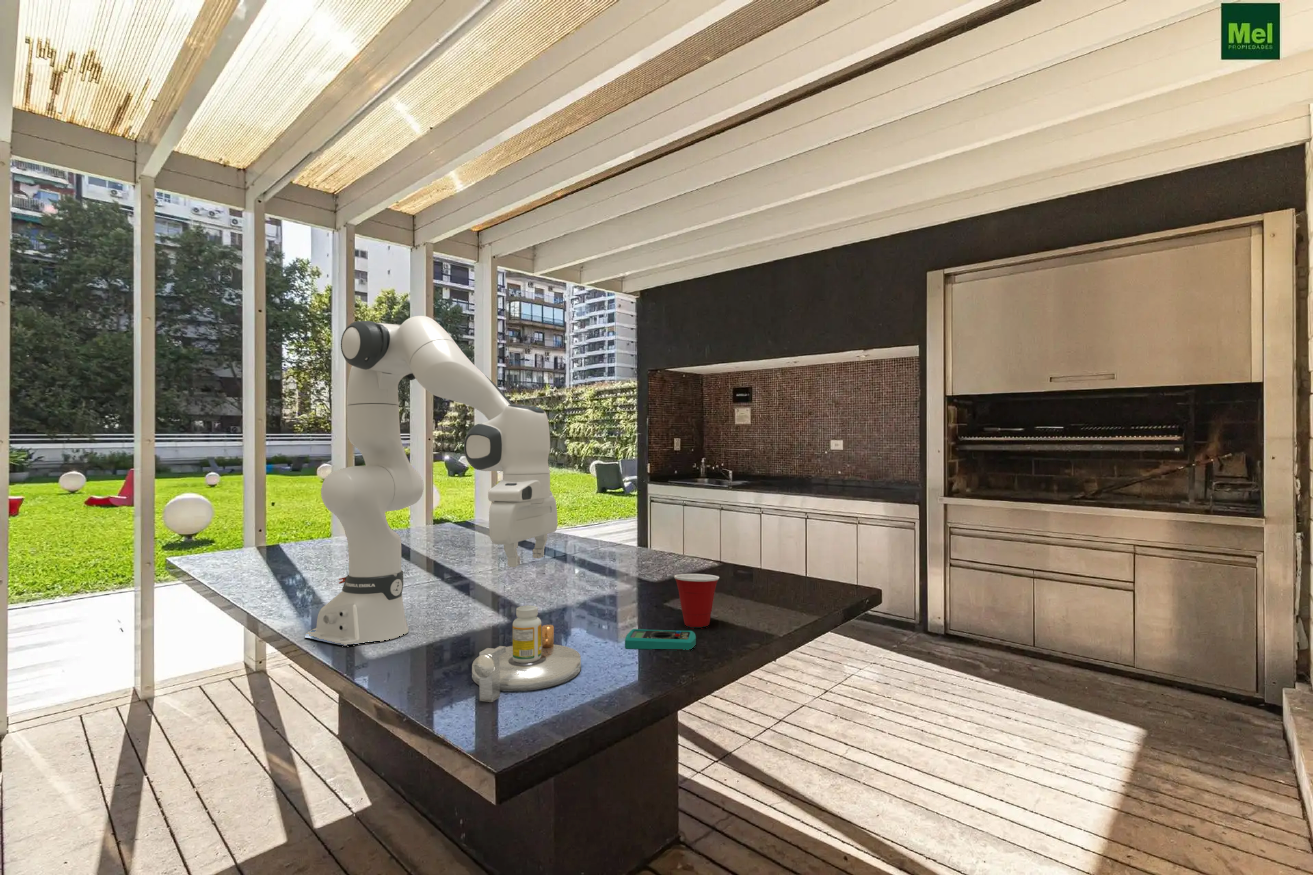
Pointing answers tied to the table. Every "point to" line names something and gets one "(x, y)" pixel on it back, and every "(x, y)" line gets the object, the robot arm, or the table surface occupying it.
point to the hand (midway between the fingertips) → (526, 562)
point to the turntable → (538, 666)
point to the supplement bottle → (526, 635)
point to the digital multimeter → (660, 639)
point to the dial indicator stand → (489, 672)
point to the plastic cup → (696, 597)
